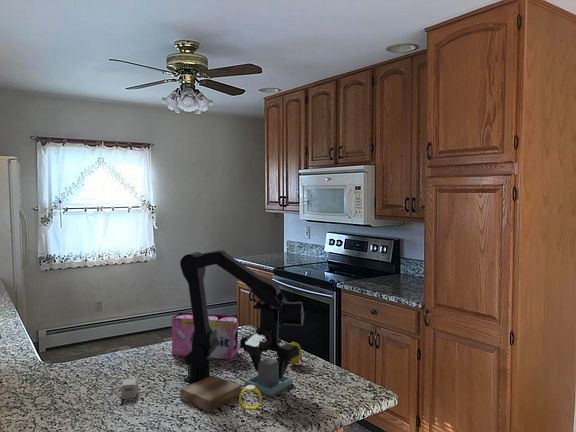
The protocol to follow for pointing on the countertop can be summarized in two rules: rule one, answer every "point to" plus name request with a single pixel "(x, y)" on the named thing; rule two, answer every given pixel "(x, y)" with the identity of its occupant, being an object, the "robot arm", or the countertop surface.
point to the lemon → (297, 358)
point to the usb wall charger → (129, 388)
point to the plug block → (268, 372)
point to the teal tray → (282, 385)
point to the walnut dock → (210, 393)
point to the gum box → (221, 323)
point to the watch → (249, 389)
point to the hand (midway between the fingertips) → (268, 374)
